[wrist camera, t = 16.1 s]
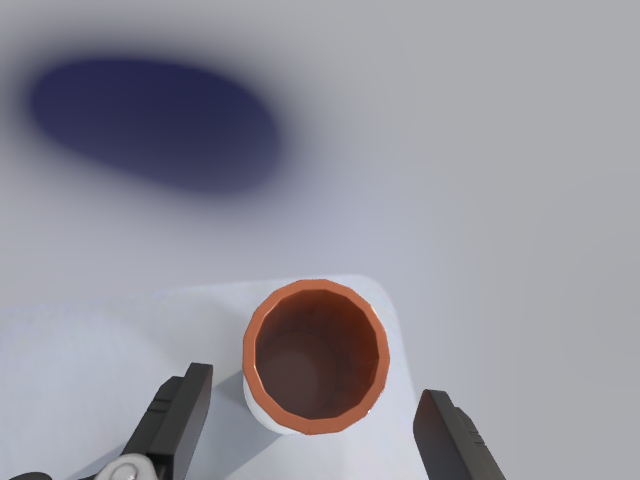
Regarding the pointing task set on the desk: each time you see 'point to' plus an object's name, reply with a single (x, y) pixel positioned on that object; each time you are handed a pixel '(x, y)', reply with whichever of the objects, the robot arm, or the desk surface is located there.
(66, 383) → the desk surface
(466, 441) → the robot arm
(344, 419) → the cup
